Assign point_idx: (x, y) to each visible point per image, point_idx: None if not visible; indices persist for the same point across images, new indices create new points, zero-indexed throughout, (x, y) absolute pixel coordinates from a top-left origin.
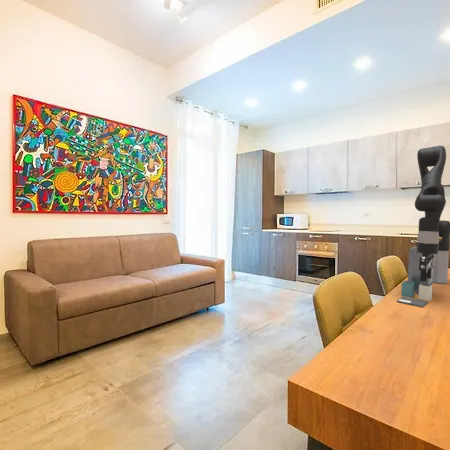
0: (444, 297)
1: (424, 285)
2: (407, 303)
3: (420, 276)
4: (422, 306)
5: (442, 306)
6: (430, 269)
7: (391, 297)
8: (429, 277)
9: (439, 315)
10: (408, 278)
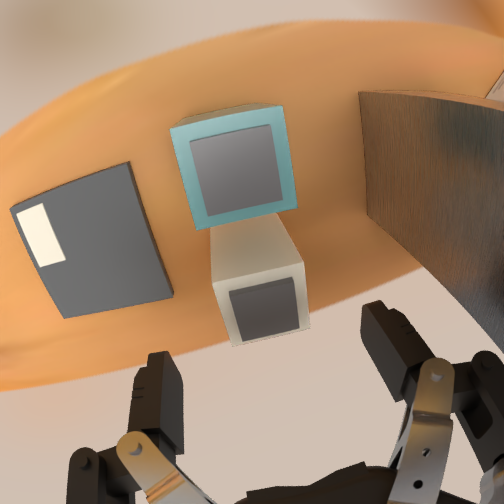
0: (384, 280)
1: (233, 313)
2: (32, 257)
3: (144, 386)
4: (64, 315)
5: (181, 345)
6: (406, 402)
7: (64, 121)
8: (366, 338)
9: (54, 370)
10: (422, 102)
